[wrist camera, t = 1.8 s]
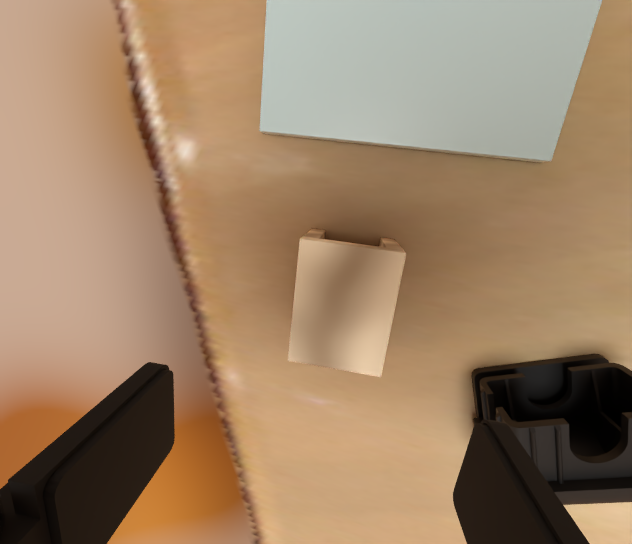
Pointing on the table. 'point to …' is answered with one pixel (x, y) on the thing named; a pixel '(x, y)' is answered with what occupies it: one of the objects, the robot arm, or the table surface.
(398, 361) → the table surface
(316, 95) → the base plate
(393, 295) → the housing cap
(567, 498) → the end cap
